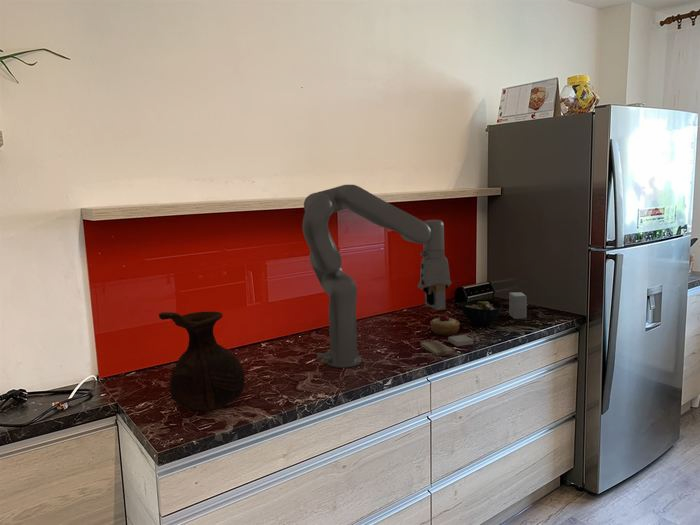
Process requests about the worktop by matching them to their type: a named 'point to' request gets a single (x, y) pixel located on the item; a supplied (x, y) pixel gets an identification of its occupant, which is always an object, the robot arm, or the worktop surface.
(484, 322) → the bowl
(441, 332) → the pastry
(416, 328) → the worktop surface
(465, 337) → the tile
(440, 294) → the brown rectangular block
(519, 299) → the small box
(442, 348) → the board
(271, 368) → the worktop surface
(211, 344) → the jug
